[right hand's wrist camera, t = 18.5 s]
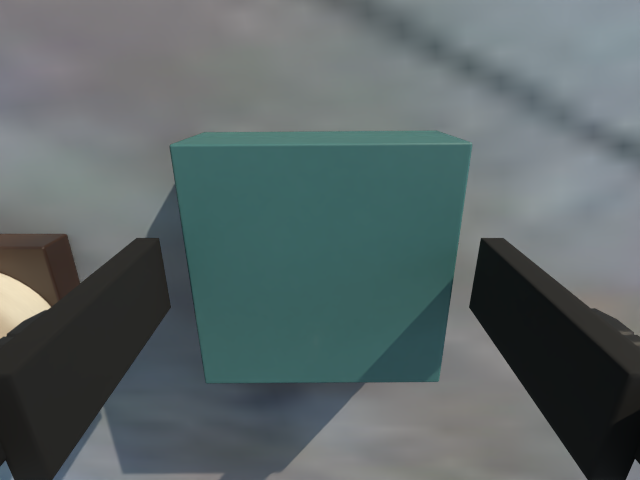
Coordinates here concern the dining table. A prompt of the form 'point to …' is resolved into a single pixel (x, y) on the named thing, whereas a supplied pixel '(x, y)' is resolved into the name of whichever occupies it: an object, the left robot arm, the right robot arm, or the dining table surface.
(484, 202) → the dining table surface
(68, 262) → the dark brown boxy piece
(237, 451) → the dining table surface
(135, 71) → the dining table surface
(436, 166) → the cap block
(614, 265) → the dining table surface
